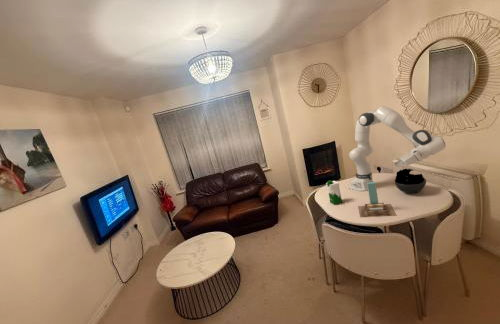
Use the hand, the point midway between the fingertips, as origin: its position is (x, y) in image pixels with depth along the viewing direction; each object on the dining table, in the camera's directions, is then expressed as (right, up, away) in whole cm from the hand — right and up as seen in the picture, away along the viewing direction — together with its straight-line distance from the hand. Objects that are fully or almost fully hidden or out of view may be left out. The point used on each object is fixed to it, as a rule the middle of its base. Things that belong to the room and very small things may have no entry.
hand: (395, 165), depth 153 cm
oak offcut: (-12, -33, +3) cm, 35 cm away
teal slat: (-10, -32, +7) cm, 34 cm away
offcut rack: (-11, -34, +5) cm, 36 cm away
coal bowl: (+26, -22, +20) cm, 39 cm away
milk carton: (-28, -33, +35) cm, 55 cm away
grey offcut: (-13, -34, 0) cm, 36 cm away
